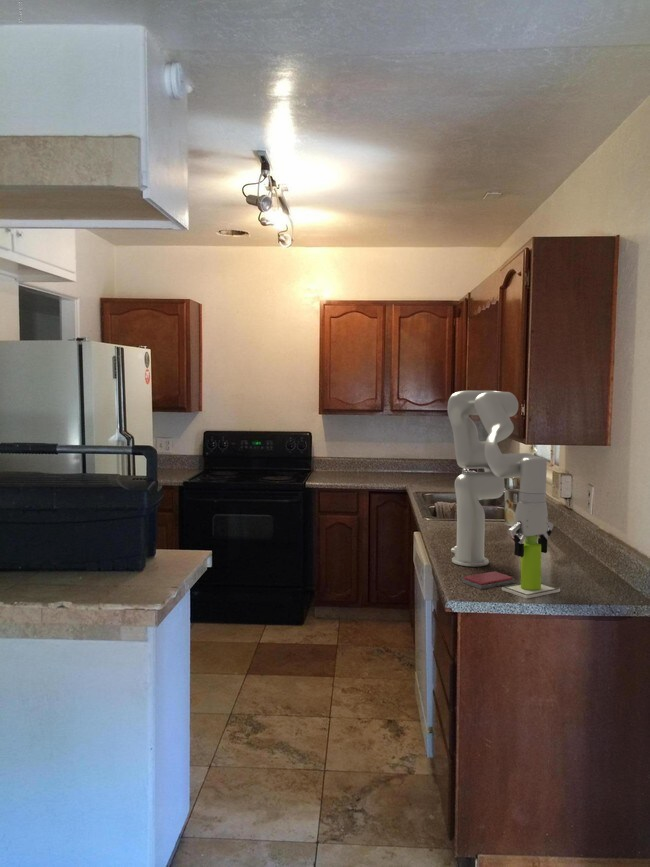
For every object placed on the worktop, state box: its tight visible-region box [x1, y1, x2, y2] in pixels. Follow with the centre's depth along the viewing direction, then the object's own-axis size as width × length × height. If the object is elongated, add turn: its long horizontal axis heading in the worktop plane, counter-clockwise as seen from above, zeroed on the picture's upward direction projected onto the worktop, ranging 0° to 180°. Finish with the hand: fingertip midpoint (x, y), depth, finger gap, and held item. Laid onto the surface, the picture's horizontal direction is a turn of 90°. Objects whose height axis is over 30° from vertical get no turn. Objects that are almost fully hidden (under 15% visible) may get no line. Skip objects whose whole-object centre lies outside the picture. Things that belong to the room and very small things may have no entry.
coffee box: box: [504, 488, 520, 528], centre depth 309 cm, size 9×6×16 cm
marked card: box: [501, 582, 561, 600], centre depth 212 cm, size 10×14×1 cm
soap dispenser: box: [520, 535, 542, 590], centre depth 212 cm, size 6×7×20 cm
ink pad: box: [461, 571, 516, 590], centre depth 221 cm, size 9×14×2 cm, turn 120°
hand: (530, 553), depth 212 cm, fingers open, 9 cm apart
